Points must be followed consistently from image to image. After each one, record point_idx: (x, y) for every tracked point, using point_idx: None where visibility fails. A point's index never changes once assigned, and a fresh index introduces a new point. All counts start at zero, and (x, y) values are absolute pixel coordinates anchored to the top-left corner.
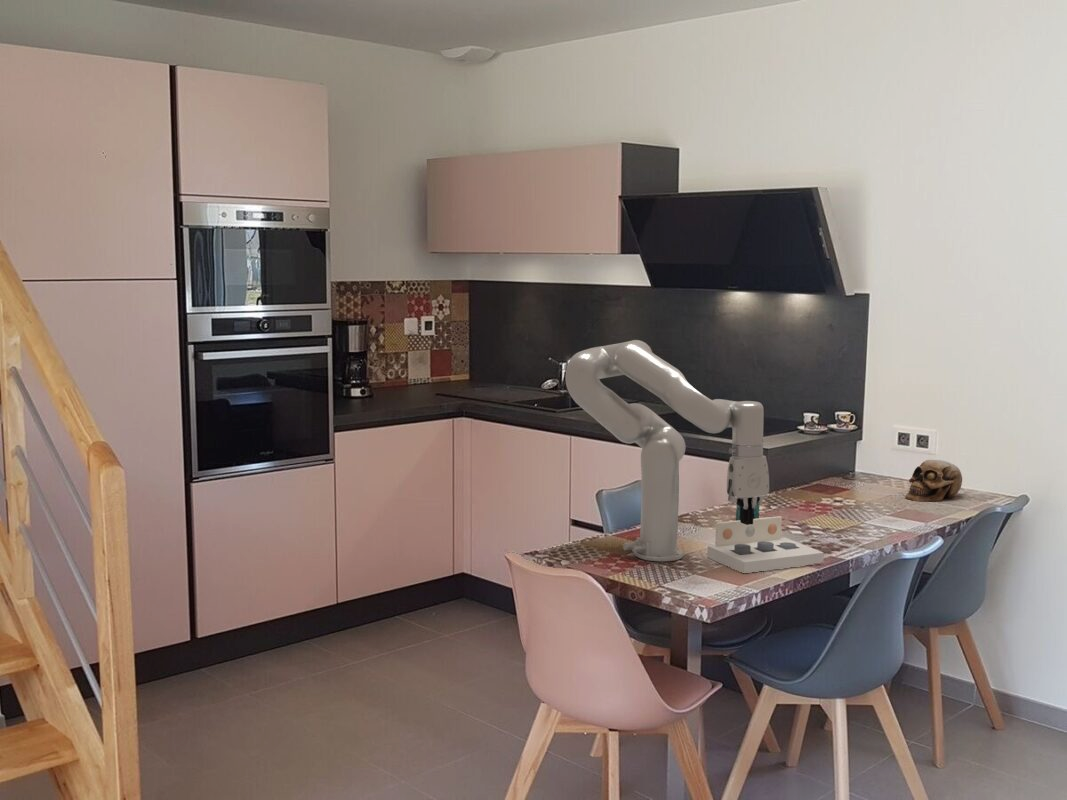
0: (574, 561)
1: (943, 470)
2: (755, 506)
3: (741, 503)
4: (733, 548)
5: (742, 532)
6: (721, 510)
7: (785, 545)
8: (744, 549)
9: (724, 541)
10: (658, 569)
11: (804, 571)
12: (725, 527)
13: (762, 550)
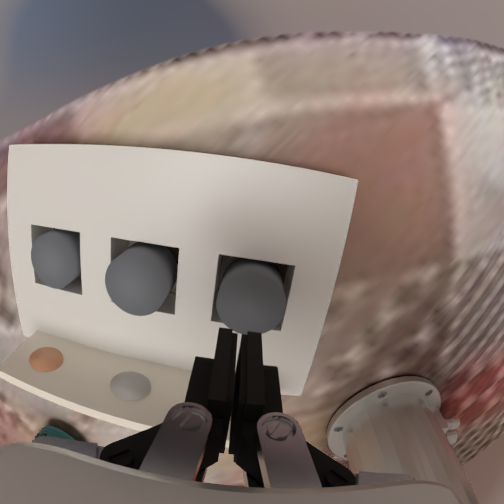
0: (500, 416)
1: None
2: (175, 411)
3: (315, 464)
4: None
5: (163, 393)
6: None
7: (63, 256)
8: (268, 276)
9: None
10: (474, 335)
11: (126, 99)
12: None
13: (167, 266)
